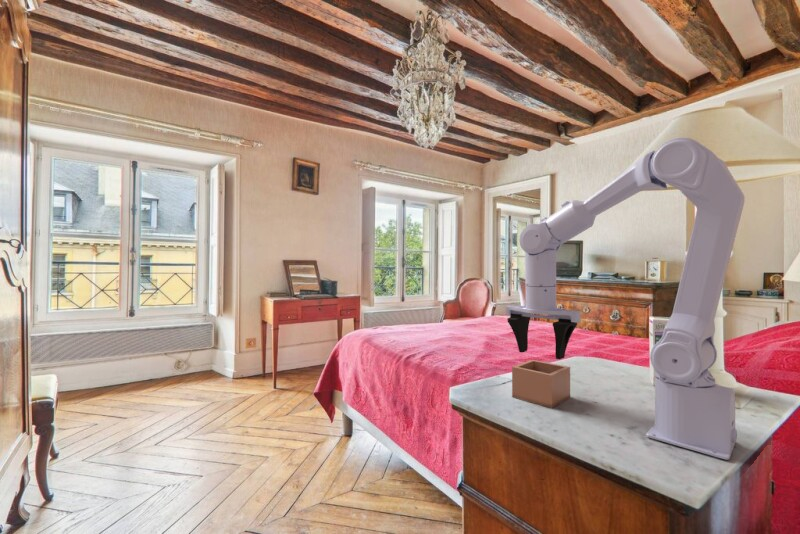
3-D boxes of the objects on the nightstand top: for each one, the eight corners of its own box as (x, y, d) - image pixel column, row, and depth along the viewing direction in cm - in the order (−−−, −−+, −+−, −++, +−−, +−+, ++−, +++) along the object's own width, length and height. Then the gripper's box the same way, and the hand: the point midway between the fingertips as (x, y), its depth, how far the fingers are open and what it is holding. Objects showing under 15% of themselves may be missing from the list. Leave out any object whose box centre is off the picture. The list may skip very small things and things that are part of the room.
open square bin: (570, 397, 73) (570, 367, 73) (551, 408, 68) (551, 375, 68) (532, 387, 79) (532, 359, 79) (512, 397, 74) (512, 366, 74)
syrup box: (652, 386, 80) (652, 318, 80) (649, 378, 85) (649, 315, 85) (685, 390, 77) (685, 320, 77) (680, 382, 82) (680, 316, 82)
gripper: (587, 286, 71) (587, 357, 71) (517, 283, 82) (518, 345, 82) (571, 288, 66) (571, 364, 66) (499, 285, 77) (500, 351, 77)
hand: (540, 354), depth 74 cm, fingers open, 7 cm apart
